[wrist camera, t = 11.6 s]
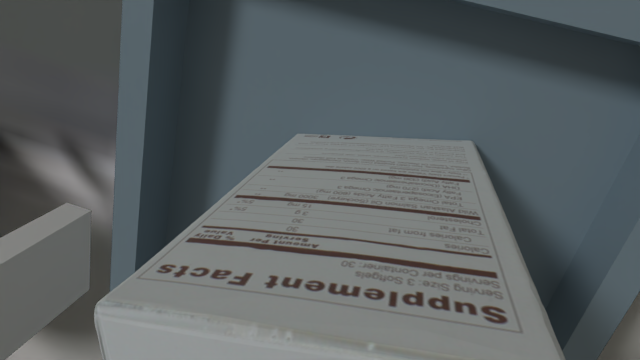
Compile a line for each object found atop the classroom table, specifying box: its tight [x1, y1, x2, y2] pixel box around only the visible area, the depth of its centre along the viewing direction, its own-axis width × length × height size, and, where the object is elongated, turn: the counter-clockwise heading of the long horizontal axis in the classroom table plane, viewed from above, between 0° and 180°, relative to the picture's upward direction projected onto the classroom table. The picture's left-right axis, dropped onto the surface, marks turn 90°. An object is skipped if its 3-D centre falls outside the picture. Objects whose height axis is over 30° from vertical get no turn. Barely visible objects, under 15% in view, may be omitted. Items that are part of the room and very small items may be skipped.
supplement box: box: [94, 134, 566, 360], centre depth 13 cm, size 7×7×13 cm
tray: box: [110, 0, 640, 360], centre depth 18 cm, size 20×20×4 cm
